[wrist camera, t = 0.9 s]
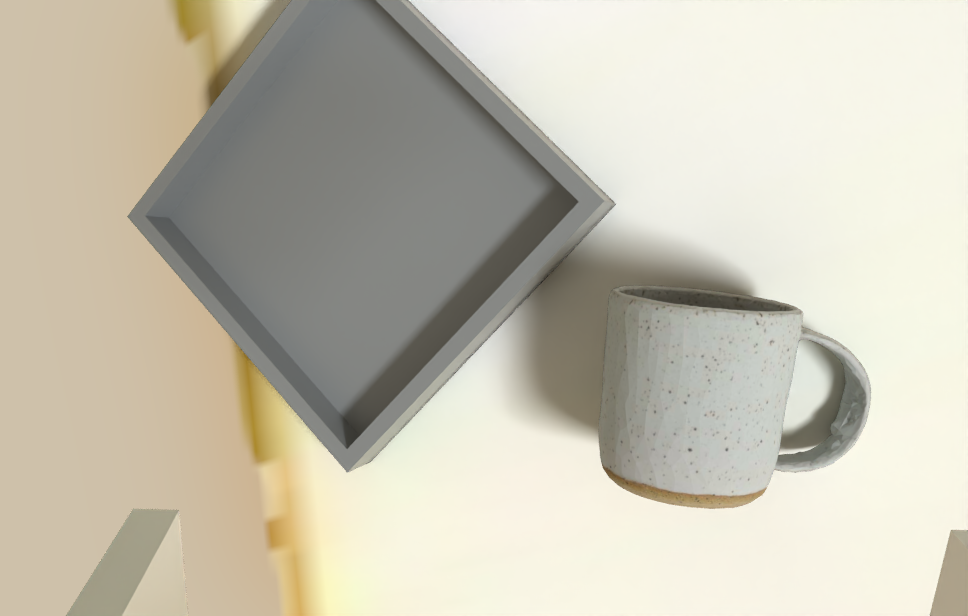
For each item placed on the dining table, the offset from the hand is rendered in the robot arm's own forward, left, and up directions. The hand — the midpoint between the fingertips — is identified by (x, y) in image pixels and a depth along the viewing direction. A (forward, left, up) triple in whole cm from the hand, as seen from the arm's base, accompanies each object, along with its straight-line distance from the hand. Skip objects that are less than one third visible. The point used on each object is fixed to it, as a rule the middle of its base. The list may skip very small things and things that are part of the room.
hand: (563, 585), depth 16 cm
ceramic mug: (-1, 0, -27) cm, 27 cm away
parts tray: (+6, -18, -27) cm, 33 cm away
